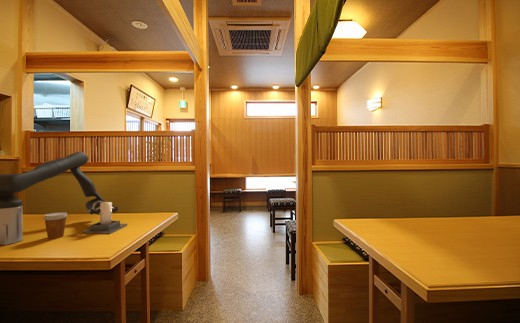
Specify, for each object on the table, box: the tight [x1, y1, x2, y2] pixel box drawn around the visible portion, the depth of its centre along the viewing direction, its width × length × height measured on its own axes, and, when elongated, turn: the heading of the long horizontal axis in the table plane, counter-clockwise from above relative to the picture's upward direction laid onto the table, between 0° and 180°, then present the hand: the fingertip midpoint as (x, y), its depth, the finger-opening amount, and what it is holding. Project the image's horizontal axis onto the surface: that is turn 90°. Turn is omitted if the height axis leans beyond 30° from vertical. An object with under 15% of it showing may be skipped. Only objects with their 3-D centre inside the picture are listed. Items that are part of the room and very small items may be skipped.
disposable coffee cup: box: [43, 211, 68, 240], centre depth 124 cm, size 10×10×12 cm
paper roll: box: [99, 201, 113, 225], centre depth 138 cm, size 6×6×14 cm
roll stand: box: [81, 220, 128, 235], centre depth 138 cm, size 16×16×4 cm
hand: (106, 211), depth 136 cm, fingers open, 7 cm apart
